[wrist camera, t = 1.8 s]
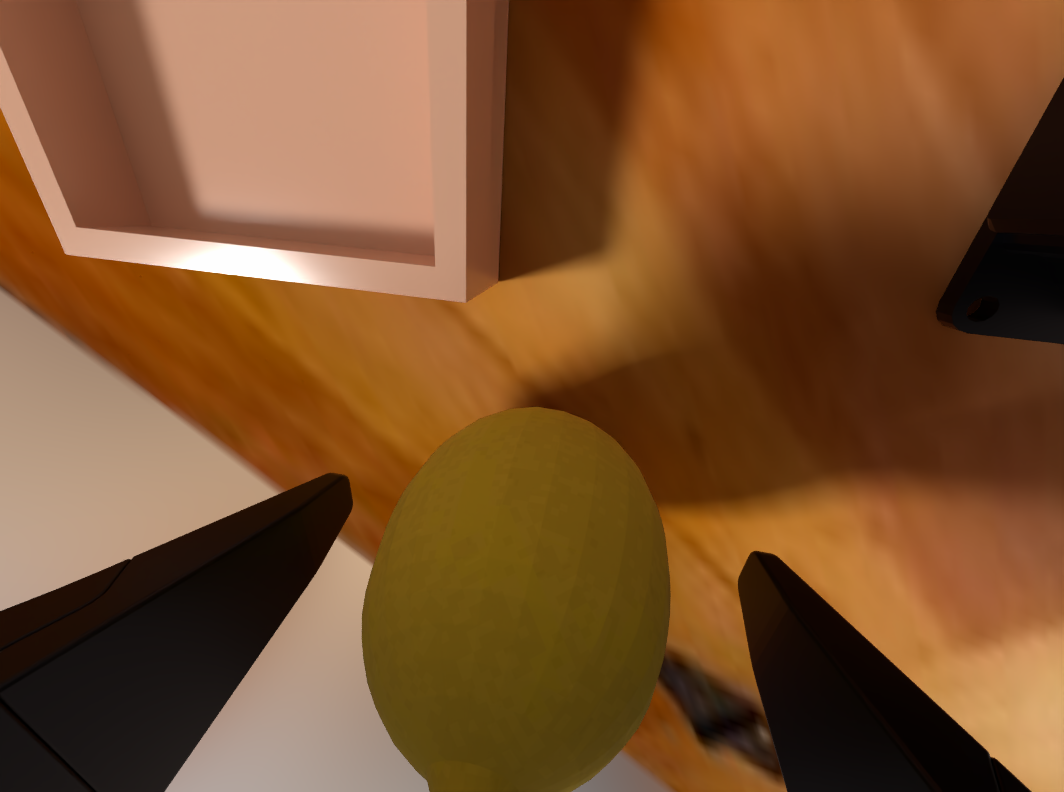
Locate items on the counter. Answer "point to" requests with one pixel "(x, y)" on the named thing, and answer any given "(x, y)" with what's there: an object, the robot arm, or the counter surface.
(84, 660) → the robot arm
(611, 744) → the lemon
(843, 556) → the counter surface
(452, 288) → the dish
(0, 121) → the counter surface
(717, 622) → the counter surface
